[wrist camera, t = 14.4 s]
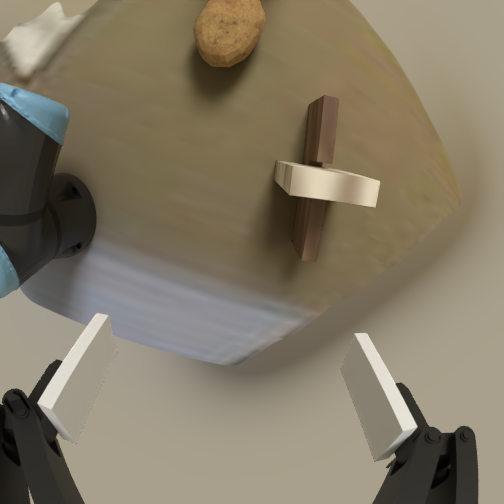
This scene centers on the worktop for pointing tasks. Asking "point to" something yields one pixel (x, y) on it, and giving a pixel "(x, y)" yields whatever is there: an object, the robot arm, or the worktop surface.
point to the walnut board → (315, 154)
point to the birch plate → (326, 183)
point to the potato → (228, 30)
